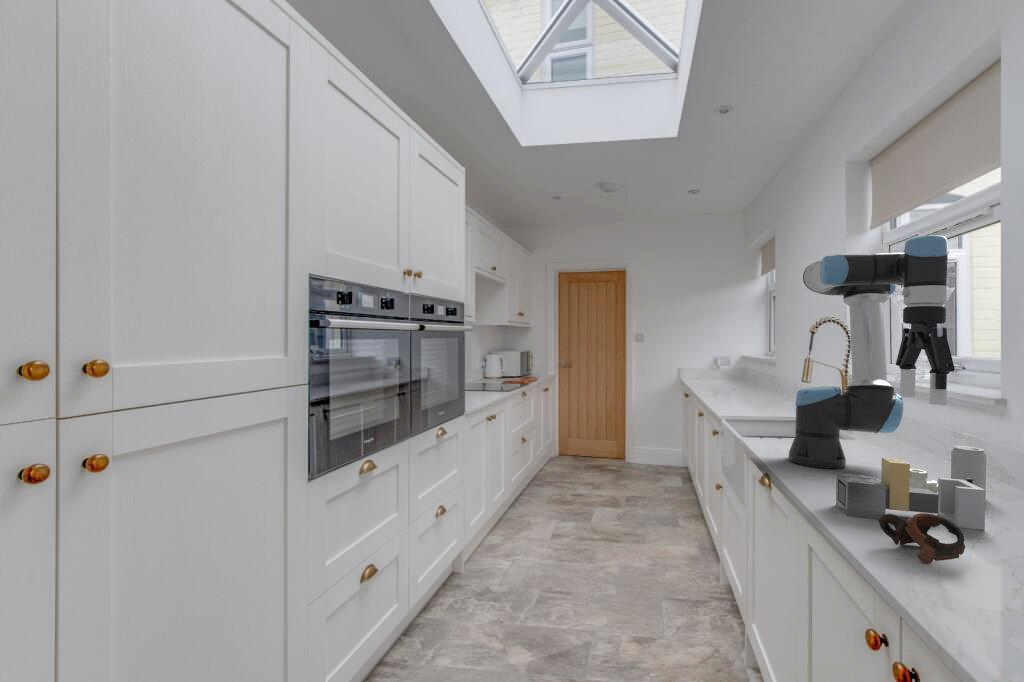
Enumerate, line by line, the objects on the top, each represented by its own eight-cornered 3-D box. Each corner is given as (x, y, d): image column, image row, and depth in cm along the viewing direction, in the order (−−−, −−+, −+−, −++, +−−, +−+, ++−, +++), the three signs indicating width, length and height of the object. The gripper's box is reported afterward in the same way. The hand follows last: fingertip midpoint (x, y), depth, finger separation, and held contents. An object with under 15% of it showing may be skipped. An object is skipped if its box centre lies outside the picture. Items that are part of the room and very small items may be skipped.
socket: (937, 514, 111) (938, 477, 111) (962, 516, 110) (963, 479, 110) (957, 527, 104) (958, 487, 104) (984, 530, 102) (985, 490, 102)
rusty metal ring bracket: (955, 554, 92) (972, 523, 88) (950, 593, 86) (968, 562, 82) (876, 521, 99) (888, 491, 95) (866, 556, 93) (879, 525, 89)
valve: (904, 499, 122) (971, 511, 114) (904, 471, 122) (972, 481, 114) (907, 493, 127) (972, 504, 119) (907, 466, 127) (972, 476, 119)
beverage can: (989, 502, 120) (990, 451, 120) (953, 498, 123) (955, 448, 123) (981, 495, 126) (982, 446, 126) (947, 491, 129) (948, 443, 129)
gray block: (835, 505, 116) (836, 473, 116) (871, 508, 114) (872, 476, 114) (847, 515, 109) (847, 481, 109) (885, 519, 107) (886, 485, 107)
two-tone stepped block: (838, 499, 115) (839, 454, 115) (927, 507, 110) (928, 461, 110) (844, 505, 111) (845, 459, 111) (938, 514, 106) (939, 466, 106)
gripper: (881, 308, 128) (879, 393, 128) (933, 302, 104) (930, 407, 104) (916, 308, 126) (914, 394, 126) (978, 302, 102) (975, 409, 102)
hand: (921, 400), depth 115 cm, fingers open, 13 cm apart
